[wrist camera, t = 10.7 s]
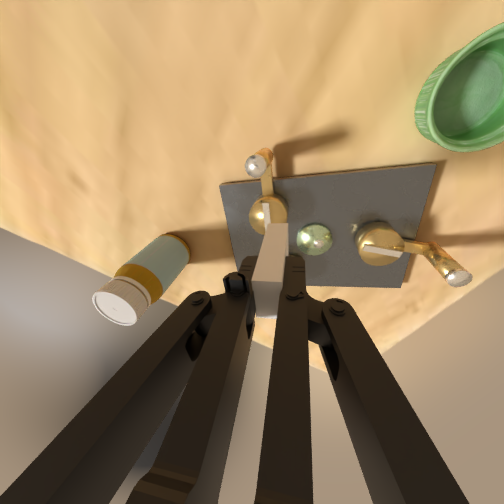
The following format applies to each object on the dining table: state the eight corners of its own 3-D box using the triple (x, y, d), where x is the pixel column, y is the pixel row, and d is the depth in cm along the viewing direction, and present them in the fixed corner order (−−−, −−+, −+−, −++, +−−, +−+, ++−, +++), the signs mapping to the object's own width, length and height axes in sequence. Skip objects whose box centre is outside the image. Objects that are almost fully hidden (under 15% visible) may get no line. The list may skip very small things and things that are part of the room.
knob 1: (289, 225, 30) (286, 248, 25) (255, 227, 31) (245, 249, 26) (284, 144, 25) (280, 151, 19) (244, 150, 26) (229, 158, 21)
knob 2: (349, 250, 30) (359, 278, 25) (363, 218, 28) (378, 243, 22) (426, 264, 29) (455, 298, 24) (449, 233, 26) (487, 262, 21)
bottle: (192, 267, 41) (144, 333, 28) (159, 259, 41) (97, 320, 29) (191, 237, 37) (134, 296, 24) (154, 228, 37) (81, 282, 25)
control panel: (241, 279, 40) (239, 286, 38) (221, 183, 30) (217, 187, 29) (397, 283, 33) (402, 291, 32) (431, 162, 24) (440, 165, 22)
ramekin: (471, 155, 23) (502, 162, 20) (390, 136, 24) (406, 140, 20) (551, 46, 18) (612, 28, 15) (446, 25, 19) (480, 3, 15)
